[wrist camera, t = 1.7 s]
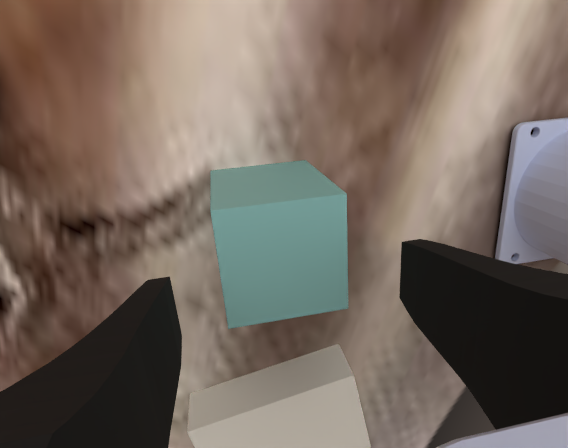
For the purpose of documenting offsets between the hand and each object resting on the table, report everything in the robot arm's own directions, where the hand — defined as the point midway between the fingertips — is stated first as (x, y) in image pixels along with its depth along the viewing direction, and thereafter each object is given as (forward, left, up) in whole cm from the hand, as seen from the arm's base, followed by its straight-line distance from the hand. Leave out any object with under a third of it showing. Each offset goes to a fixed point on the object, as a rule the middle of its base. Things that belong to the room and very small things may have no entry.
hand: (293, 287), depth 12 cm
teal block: (0, 0, -8) cm, 8 cm away
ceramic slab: (0, +14, -8) cm, 16 cm away
